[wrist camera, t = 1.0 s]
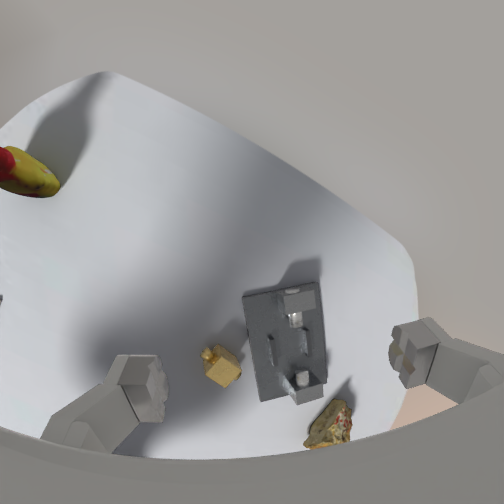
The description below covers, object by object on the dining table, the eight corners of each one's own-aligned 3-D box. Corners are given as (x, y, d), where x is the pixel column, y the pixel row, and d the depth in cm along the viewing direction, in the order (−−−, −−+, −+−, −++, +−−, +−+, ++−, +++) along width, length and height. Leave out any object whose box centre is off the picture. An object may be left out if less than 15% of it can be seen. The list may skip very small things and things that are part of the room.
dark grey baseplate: (324, 382, 53) (336, 394, 48) (259, 400, 51) (266, 414, 46) (315, 279, 51) (328, 284, 46) (241, 295, 49) (247, 301, 44)
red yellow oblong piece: (72, 178, 42) (11, 148, 22) (55, 212, 42) (-14, 202, 22) (26, 150, 39) (-38, 116, 20) (10, 183, 39) (-59, 163, 20)
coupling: (243, 361, 50) (249, 375, 44) (228, 378, 49) (233, 393, 44) (210, 338, 48) (213, 350, 43) (195, 355, 48) (196, 369, 43)
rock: (317, 396, 59) (341, 396, 50) (348, 410, 59) (374, 410, 50) (295, 444, 53) (316, 452, 44) (327, 456, 53) (352, 463, 44)
